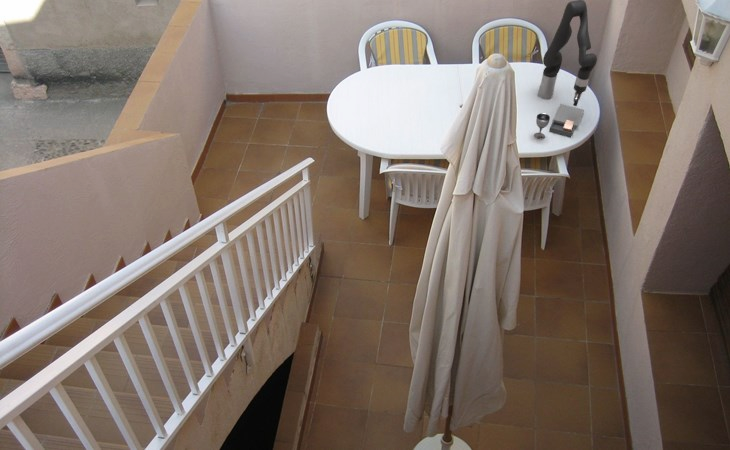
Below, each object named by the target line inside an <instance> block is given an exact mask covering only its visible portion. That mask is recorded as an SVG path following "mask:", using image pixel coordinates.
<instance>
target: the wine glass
mask: <svg viewBox="0 0 730 450" xmlns="http://www.w3.org/2000/svg"><path fill="white" fill-rule="evenodd" d="M535 118H536V120H535V121H536V122H535V123H536V126H537V127H538V128H539V132H535V133H534V134H533V138H535V139H536V140H541V141H542V140H544V139H545V138H546V136H545V134H544V133H542V130H543V129H544V128H547V126H548V124H549V123H550V119H551V116H550V115H549V114H547V113H543V112H541V113H539V114H537V115H536V117H535Z"/></svg>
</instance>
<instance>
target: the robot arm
mask: <svg viewBox="0 0 730 450" xmlns="http://www.w3.org/2000/svg"><path fill="white" fill-rule="evenodd" d="M577 17H579V27H578V31H577V34H576V35H577V36H576V41H577V47H578V65H579V66H580V67H579V69H578V72H577V76H576V78H575V81H574V85H573V90H574V91H575V92H574V97H573V103H572V104H573V107H578V103H579V101H580V99H581V96H582V94H583V93H584V92H586V91H587V87H588V84H589V79H590V75H591V72H592V71H593V70H594V68H595V66H596V65H597V61H598V58H597V54H596V53H593V52H592V53H587V51H588V50H590V49H592V43H591V39H590V34H589V25H588V24H589V21H588V19H589V18H588V5H587V3H586V2H585V0H572V1H571V0H570V1H569V2H568V3H566V6H565V8H564V12H563V13H562V18H561V21H560V23H559V26H557V27H558V28H557V29H556V32H555V34H554V36H553V39H552V41H551V43H550V45H549V46H548V49H547V50H546V52H544V56H543V59H542V63H543V65H544V69H543V71H542V76H541V82H540V84H539V89H538V93H537V97H539V98H540V99H543V100H551V99H553V95H554V90H555V87H556V82H557V78H558V73H559V72H560V69H561V66H562V63H563V55H562V53H561V50H562V49H563V48H564V47H565V46H566V45H567V44H568V42H569V40H570V39H571V37H572V33H573V29H572V26H571V22H572V19H574V18H577ZM586 53H587V54H586Z"/></svg>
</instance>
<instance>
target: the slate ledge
mask: <svg viewBox="0 0 730 450" xmlns="http://www.w3.org/2000/svg"><path fill="white" fill-rule="evenodd" d="M584 112H585V109H584V108H580V107H577V106H570V105H567V104H564V103H563V104H562V103H560V104H559V106H558V108H557V110H556V112H555V115H554V117H553V119H552V121H553V120H554V121H557V122H561V123H564V124H565V122H566V120H570V121H573V122H574V125H575V128H574V130H576V129H577V130H578V127H579V125H580V122H581V120H582V118H583V115H584ZM574 125H573V126H574Z"/></svg>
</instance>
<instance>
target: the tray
mask: <svg viewBox="0 0 730 450" xmlns="http://www.w3.org/2000/svg"><path fill="white" fill-rule="evenodd" d="M564 125H565V124H564V123H561V122H557V121H554V120H553V119H552V122H551V125H550V127H549V131H548V132H549V133H553V134H556V135H559V136H564V137H569V138H572V136H573V133H574V131H575V129H574V128H575V125H574V126H573V127H572V131H571V132H568V131H564V130H563V127H564Z"/></svg>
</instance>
